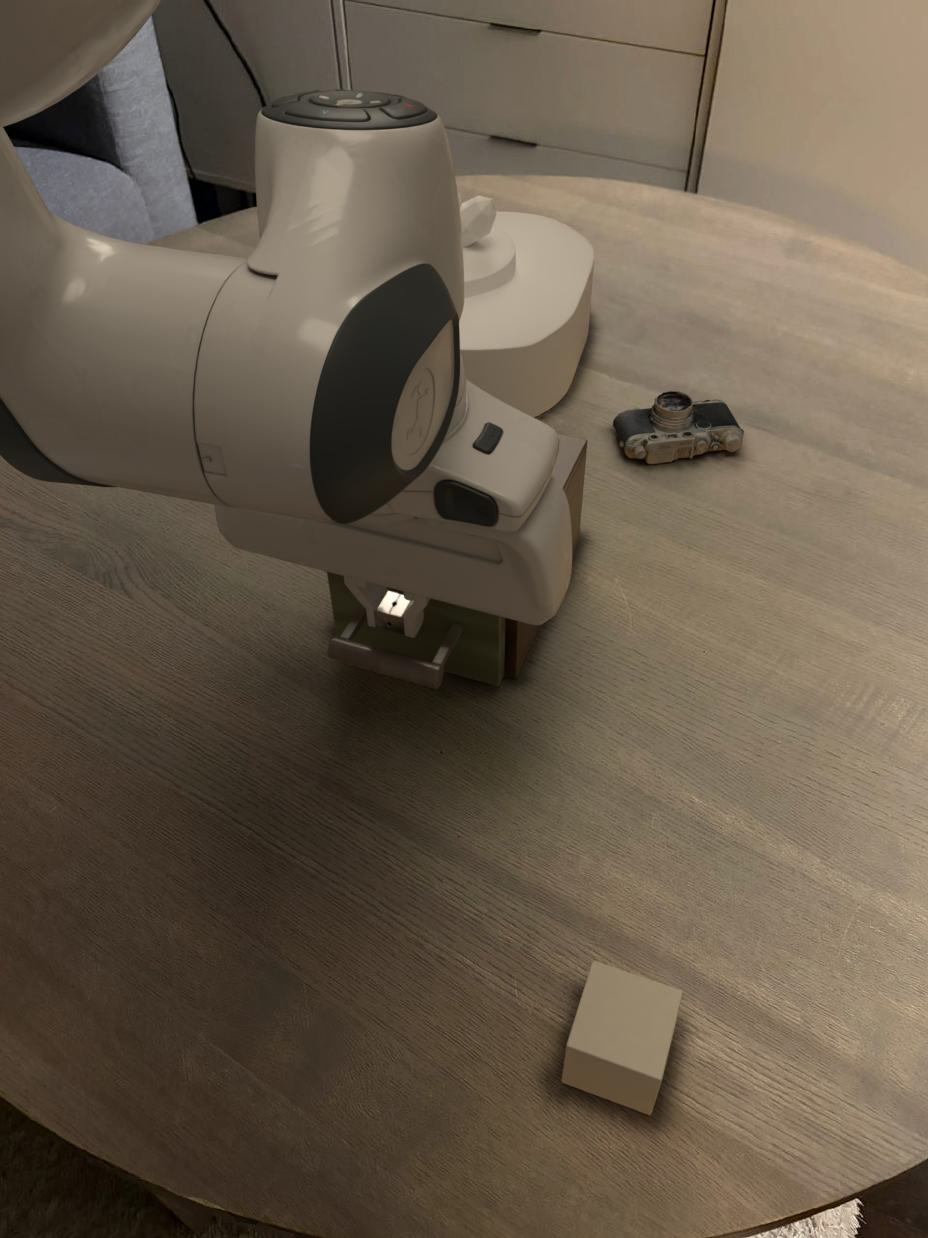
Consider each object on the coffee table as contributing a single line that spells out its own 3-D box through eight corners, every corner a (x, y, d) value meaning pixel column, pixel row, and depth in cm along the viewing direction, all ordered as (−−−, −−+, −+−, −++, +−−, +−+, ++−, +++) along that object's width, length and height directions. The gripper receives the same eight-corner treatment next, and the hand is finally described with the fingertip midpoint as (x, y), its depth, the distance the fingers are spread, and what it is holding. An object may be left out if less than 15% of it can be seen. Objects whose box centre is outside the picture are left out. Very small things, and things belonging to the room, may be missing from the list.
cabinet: (515, 679, 68) (519, 578, 62) (341, 631, 71) (326, 530, 65) (579, 540, 78) (587, 439, 71) (422, 503, 81) (416, 404, 74)
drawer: (471, 744, 63) (470, 664, 58) (303, 695, 66) (287, 614, 61) (561, 553, 75) (566, 472, 70) (415, 518, 78) (410, 438, 73)
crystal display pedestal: (551, 441, 86) (561, 256, 75) (269, 399, 91) (238, 220, 79) (602, 294, 103) (617, 125, 91) (362, 266, 108) (348, 101, 96)
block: (650, 1116, 49) (662, 1080, 46) (560, 1083, 50) (565, 1045, 47) (671, 1029, 52) (683, 990, 49) (586, 999, 53) (592, 959, 50)
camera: (748, 455, 84) (757, 412, 81) (623, 468, 84) (628, 425, 81) (728, 419, 88) (736, 376, 85) (608, 431, 87) (612, 388, 84)
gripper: (166, 427, 53) (217, 617, 63) (552, 516, 48) (541, 708, 58) (228, 363, 57) (267, 551, 67) (590, 438, 52) (573, 630, 62)
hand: (396, 624), depth 62 cm, fingers closed
